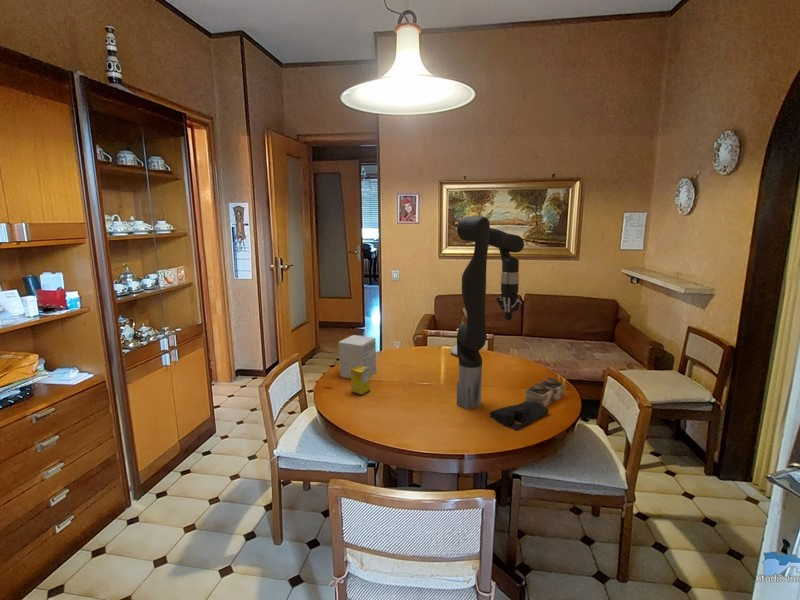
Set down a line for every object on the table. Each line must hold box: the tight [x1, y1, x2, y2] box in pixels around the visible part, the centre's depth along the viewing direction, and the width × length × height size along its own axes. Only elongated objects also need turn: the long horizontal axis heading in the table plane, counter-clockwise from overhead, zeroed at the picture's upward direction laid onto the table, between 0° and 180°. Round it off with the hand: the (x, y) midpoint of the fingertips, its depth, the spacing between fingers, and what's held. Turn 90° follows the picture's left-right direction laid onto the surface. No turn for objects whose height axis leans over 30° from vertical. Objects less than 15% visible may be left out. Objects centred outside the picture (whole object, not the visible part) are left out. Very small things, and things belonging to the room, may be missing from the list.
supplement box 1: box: [338, 334, 377, 379], centre depth 209 cm, size 13×13×18 cm
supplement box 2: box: [350, 366, 371, 397], centre depth 189 cm, size 6×6×11 cm
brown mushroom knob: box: [545, 377, 559, 385], centre depth 183 cm, size 5×5×6 cm
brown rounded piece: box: [532, 383, 546, 391], centre depth 177 cm, size 5×5×6 cm
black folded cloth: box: [488, 400, 550, 431], centre depth 167 cm, size 15×22×5 cm
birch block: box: [524, 380, 566, 407], centre depth 180 cm, size 16×8×6 cm, turn 130°
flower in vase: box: [449, 307, 467, 356], centre depth 235 cm, size 13×11×25 cm
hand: (508, 320), depth 193 cm, fingers closed
